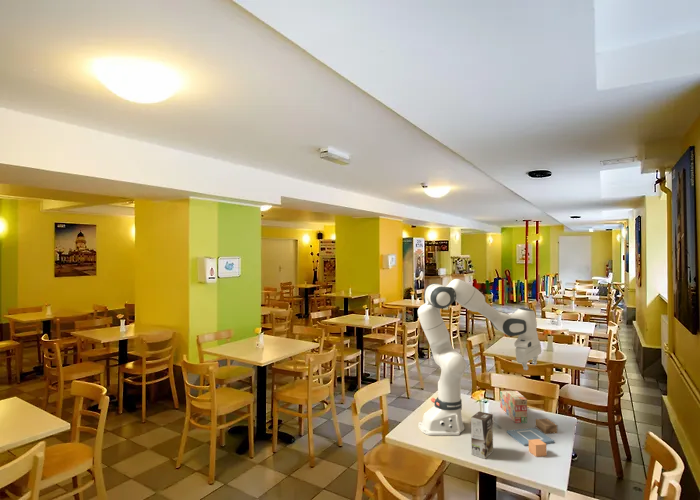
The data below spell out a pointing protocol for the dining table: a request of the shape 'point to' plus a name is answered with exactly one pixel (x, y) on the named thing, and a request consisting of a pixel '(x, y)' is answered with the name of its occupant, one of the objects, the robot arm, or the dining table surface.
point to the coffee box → (482, 434)
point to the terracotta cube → (537, 447)
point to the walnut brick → (546, 426)
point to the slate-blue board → (529, 436)
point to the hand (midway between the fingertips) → (530, 367)
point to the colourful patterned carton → (514, 405)
